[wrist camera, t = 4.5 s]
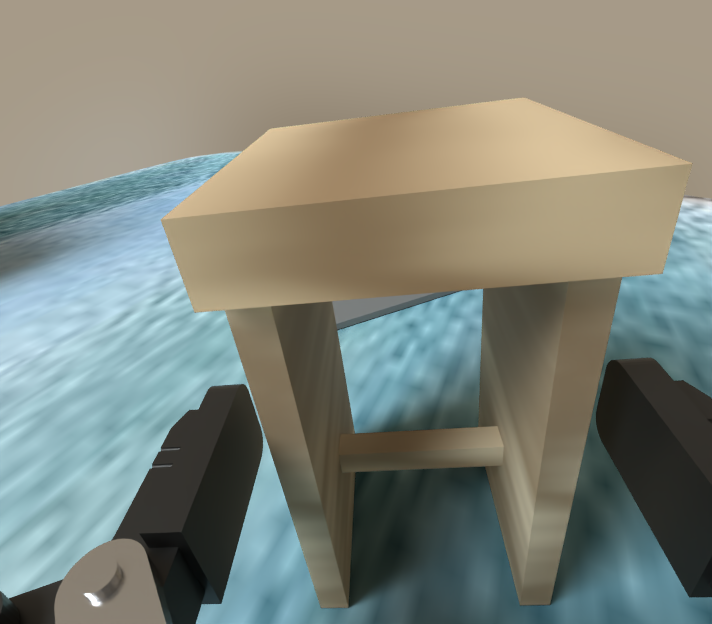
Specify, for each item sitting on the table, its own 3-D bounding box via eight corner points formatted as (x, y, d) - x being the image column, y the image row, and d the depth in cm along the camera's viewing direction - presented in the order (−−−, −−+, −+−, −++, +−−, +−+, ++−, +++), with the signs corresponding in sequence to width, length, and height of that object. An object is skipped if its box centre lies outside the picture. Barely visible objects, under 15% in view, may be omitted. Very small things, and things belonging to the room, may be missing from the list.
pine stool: (500, 425, 18) (524, 97, 11) (565, 629, 12) (692, 163, 5) (333, 434, 18) (270, 128, 12) (311, 631, 12) (161, 219, 6)
